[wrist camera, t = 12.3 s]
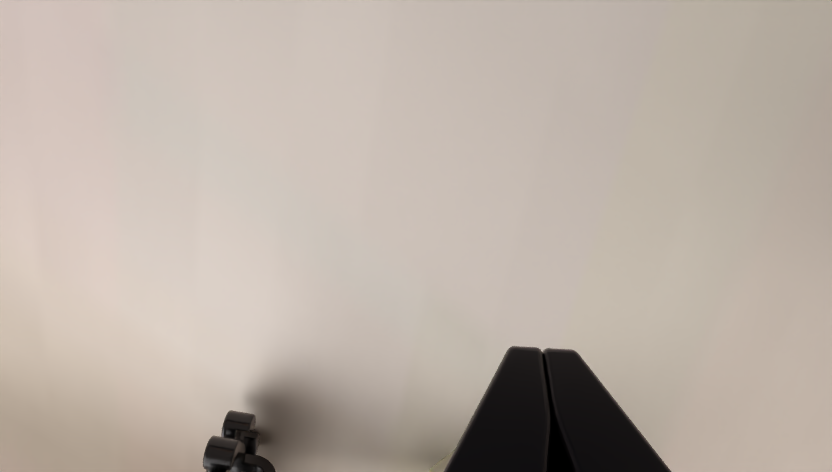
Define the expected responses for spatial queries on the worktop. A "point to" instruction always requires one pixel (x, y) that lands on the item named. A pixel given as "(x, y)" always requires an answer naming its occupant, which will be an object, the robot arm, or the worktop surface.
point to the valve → (248, 448)
